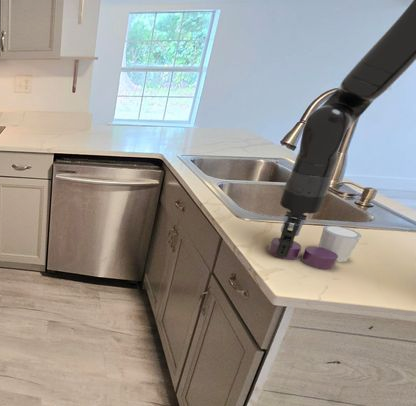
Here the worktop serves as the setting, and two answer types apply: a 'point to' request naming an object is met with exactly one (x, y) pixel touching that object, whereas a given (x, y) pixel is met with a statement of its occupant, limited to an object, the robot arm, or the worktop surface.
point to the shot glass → (339, 241)
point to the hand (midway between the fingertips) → (283, 250)
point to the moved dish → (292, 252)
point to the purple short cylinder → (319, 257)
